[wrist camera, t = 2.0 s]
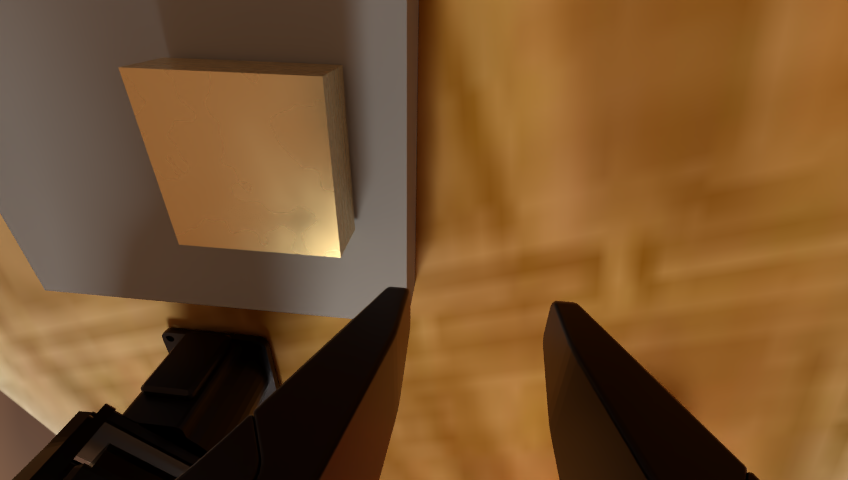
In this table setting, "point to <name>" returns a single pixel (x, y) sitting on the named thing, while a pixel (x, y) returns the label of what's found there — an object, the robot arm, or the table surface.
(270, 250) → the brass cover
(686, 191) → the table surface
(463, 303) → the table surface
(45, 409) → the table surface
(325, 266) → the base plate
